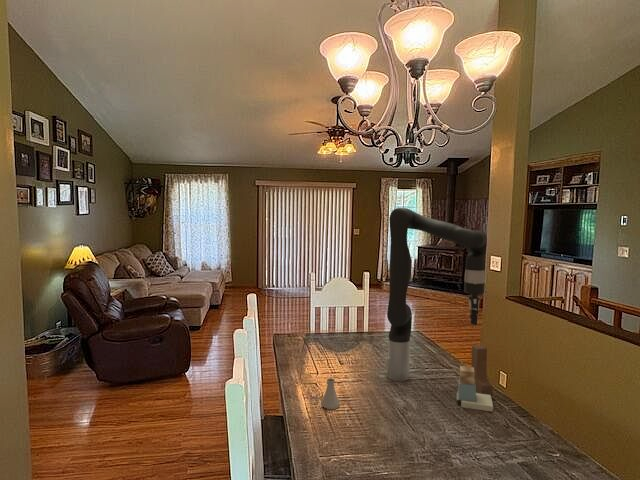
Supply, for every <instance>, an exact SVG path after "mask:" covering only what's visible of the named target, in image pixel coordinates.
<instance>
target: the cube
mask: <svg viewBox="0 0 640 480" xmlns="http://www.w3.org/2000/svg"><path fill="white" fill-rule="evenodd" d="M457 392H458V395H459V399H463V400H470V401H476V393H477V392H476V383H475V380H474V385H469V384H462V383H460V377H458V389H457Z"/></svg>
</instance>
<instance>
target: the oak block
mask: <svg viewBox="0 0 640 480" xmlns="http://www.w3.org/2000/svg"><path fill="white" fill-rule="evenodd" d="M459 378H460V383H462V384H469V385H474V367H471V366H464V365H460V366H459Z"/></svg>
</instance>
